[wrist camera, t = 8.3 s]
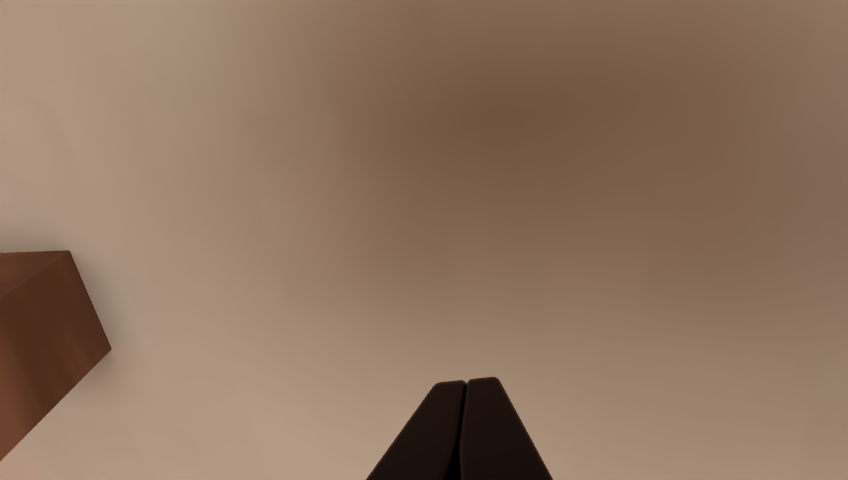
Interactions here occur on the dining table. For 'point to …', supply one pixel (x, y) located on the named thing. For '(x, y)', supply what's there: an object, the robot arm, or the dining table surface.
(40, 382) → the brown patterned block
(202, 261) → the dining table surface
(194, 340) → the dining table surface
